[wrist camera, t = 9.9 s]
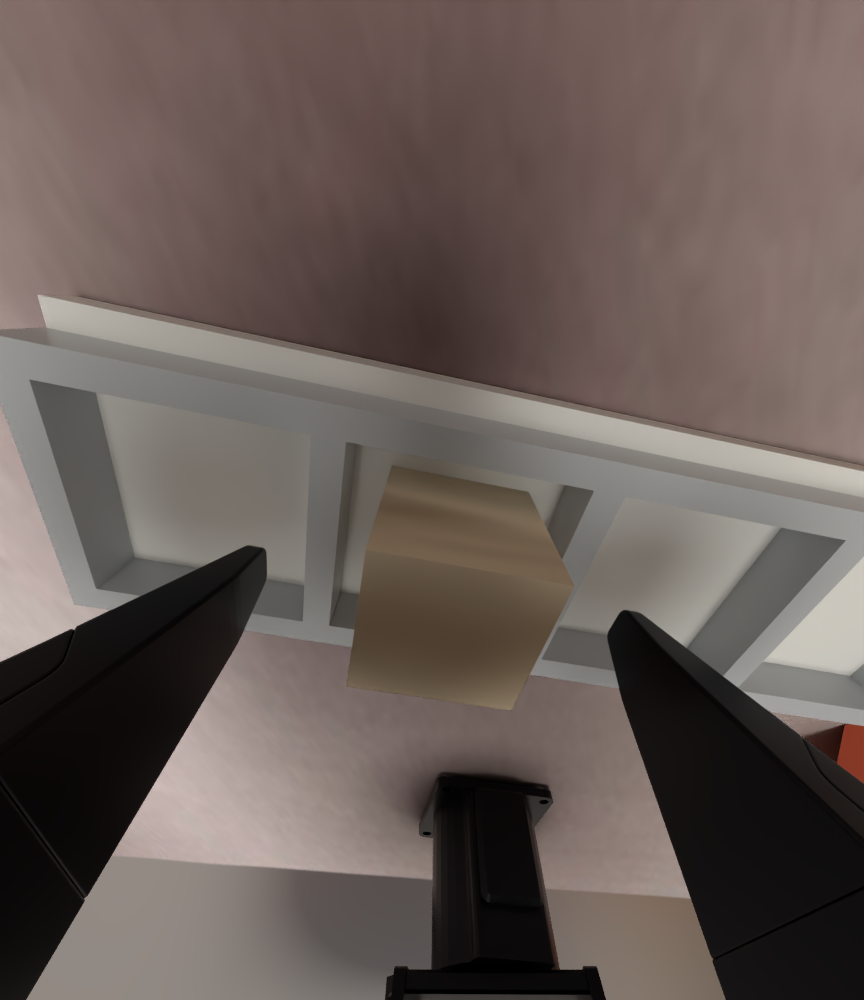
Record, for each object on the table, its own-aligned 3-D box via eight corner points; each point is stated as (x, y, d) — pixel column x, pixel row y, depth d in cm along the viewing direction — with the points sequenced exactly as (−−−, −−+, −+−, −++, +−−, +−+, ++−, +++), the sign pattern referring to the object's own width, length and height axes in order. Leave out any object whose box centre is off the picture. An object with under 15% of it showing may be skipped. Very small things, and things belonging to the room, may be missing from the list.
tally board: (817, 679, 15) (880, 741, 13) (140, 569, 13) (80, 621, 11) (1017, 499, 11) (1160, 545, 9) (76, 296, 9) (-41, 291, 7)
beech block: (490, 594, 12) (511, 710, 9) (374, 574, 12) (346, 686, 8) (528, 491, 10) (574, 586, 7) (392, 465, 10) (365, 549, 6)
